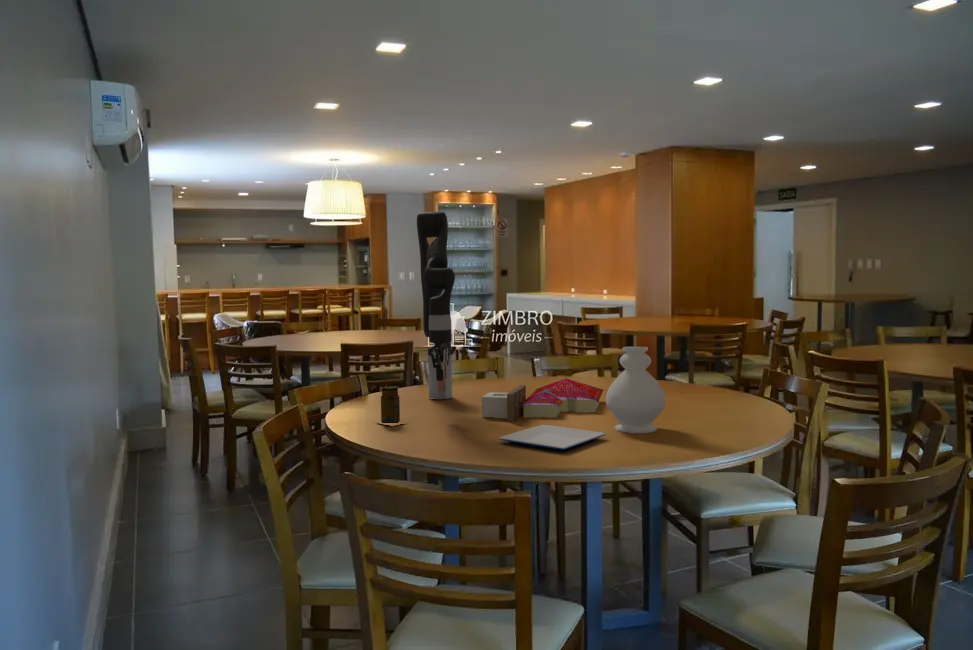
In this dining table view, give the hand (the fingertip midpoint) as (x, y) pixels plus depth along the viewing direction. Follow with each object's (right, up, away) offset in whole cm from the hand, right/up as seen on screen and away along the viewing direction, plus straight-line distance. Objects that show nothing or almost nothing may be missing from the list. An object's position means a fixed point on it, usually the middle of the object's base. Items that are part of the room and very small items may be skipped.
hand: (441, 379), depth 244 cm
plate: (+34, -16, -35) cm, 51 cm away
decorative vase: (+61, -14, -21) cm, 66 cm away
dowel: (0, -4, 0) cm, 4 cm away
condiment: (-16, -14, -5) cm, 22 cm away
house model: (+43, -12, +17) cm, 48 cm away
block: (+20, -13, +6) cm, 24 cm away
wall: (+25, -13, +4) cm, 29 cm away
